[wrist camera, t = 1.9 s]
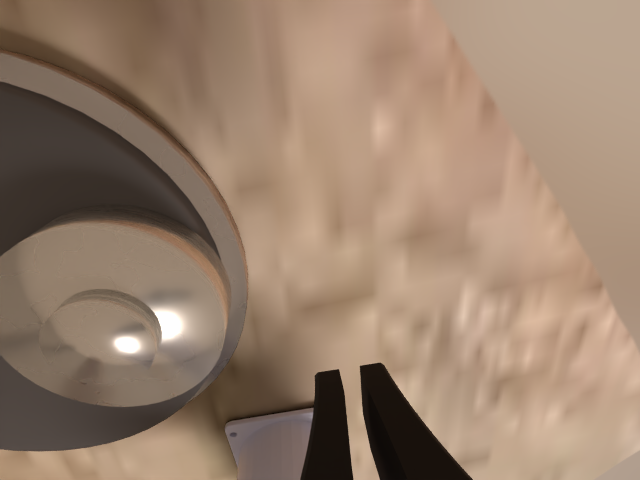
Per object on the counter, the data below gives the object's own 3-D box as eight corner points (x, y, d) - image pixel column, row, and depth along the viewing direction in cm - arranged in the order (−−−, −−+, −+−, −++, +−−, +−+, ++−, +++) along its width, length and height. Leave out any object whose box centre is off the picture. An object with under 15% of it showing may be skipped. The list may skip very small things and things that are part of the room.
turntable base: (276, 390, 24) (275, 405, 23) (-58, 443, 23) (-75, 462, 22) (191, 13, 14) (184, 9, 13) (-412, 74, 13) (-474, 74, 12)
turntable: (258, 398, 22) (256, 419, 21) (-69, 451, 21) (-92, 476, 20) (147, -22, 12) (132, -32, 11) (-478, 37, 11) (-580, 33, 10)
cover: (247, 350, 18) (241, 408, 15) (74, 377, 18) (32, 441, 15) (206, 190, 14) (186, 224, 11) (-19, 219, 14) (-104, 262, 11)
